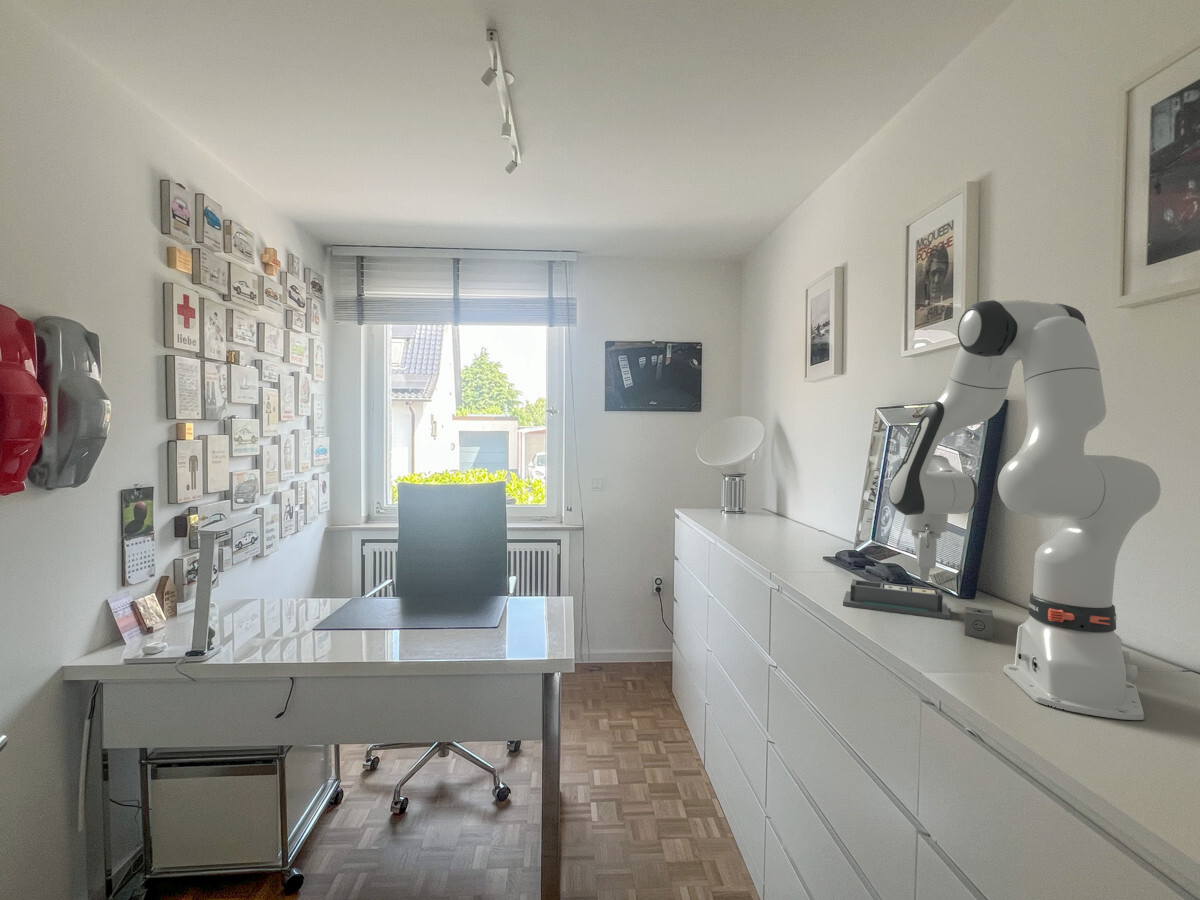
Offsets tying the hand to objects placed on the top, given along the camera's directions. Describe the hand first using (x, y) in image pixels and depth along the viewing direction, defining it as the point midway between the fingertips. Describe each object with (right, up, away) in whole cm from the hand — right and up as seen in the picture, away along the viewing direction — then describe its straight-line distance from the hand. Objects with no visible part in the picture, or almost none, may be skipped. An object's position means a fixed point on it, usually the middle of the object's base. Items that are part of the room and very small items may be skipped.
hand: (924, 580), depth 157 cm
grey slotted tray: (-6, -7, +3) cm, 9 cm away
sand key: (0, -5, 0) cm, 5 cm away
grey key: (-6, -4, +3) cm, 8 cm away
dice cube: (+2, -8, -18) cm, 20 cm away
